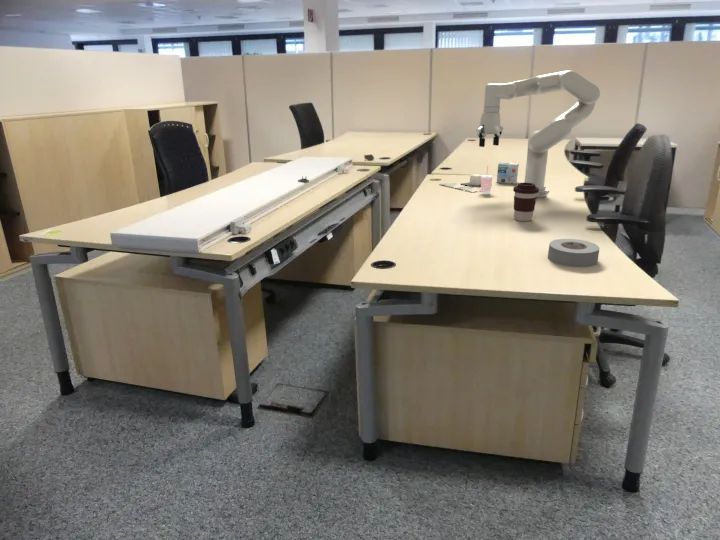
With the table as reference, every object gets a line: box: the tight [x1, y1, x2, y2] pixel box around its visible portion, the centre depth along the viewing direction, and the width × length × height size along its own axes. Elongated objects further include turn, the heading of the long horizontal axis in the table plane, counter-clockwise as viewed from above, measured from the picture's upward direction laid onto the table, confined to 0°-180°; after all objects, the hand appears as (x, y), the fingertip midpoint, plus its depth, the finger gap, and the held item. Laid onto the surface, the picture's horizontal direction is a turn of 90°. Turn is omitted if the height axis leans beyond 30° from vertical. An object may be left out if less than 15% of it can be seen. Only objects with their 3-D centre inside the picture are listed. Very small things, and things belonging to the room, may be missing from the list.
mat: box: [461, 181, 481, 188], centre depth 295 cm, size 12×12×1 cm
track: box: [438, 182, 481, 193], centre depth 288 cm, size 26×9×1 cm, turn 33°
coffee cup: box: [512, 182, 539, 222], centre depth 221 cm, size 10×10×15 cm
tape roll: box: [547, 238, 600, 268], centre depth 174 cm, size 15×15×5 cm
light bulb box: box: [496, 161, 520, 185], centre depth 300 cm, size 11×7×11 cm, turn 68°
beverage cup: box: [480, 165, 494, 195], centre depth 271 cm, size 6×6×14 cm
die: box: [469, 173, 482, 185], centre depth 294 cm, size 5×5×5 cm
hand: (488, 145), depth 266 cm, fingers open, 9 cm apart
